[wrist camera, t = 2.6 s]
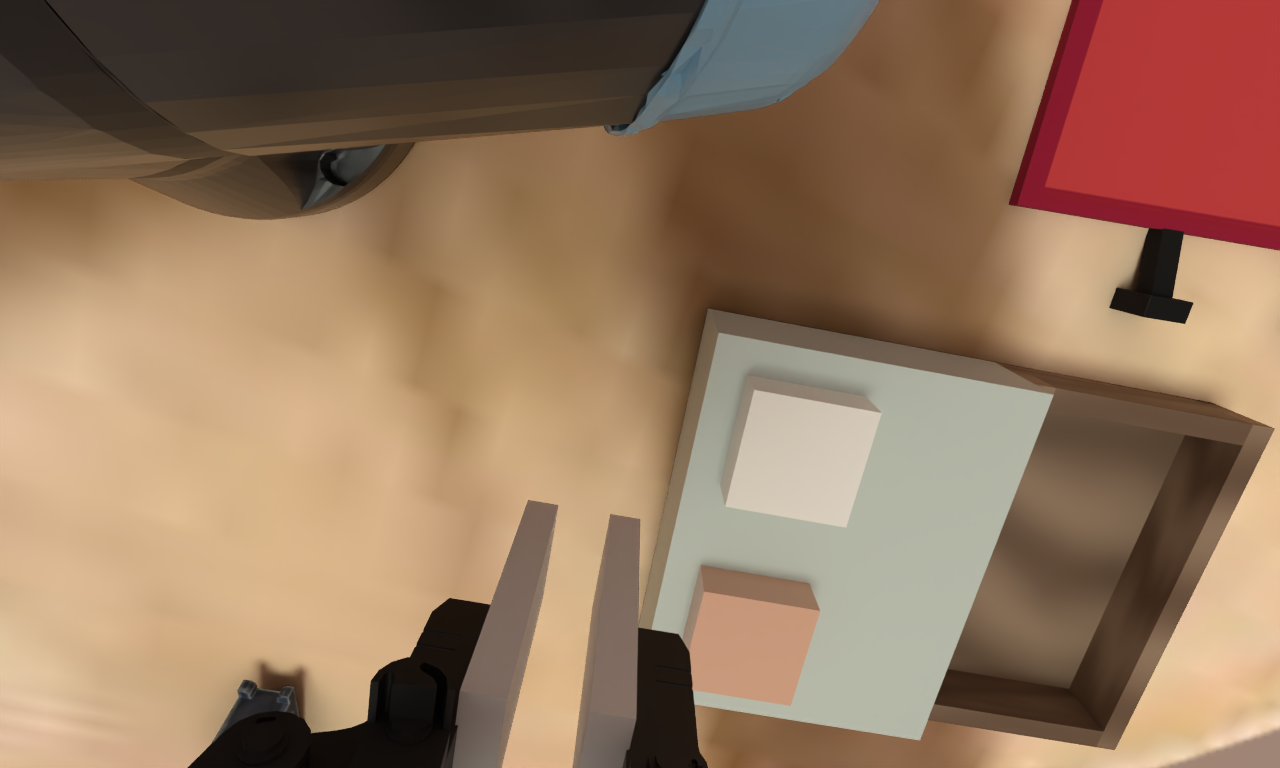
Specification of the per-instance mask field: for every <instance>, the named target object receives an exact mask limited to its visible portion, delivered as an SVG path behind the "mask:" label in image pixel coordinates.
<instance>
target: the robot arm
mask: <svg viewBox="0 0 1280 768" xmlns="http://www.w3.org/2000/svg"><path fill="white" fill-rule="evenodd" d="M878 2H879V0H0V181H2V180H68V179H130V180H132V181H135V182H137V183H139V184H141V185H144V186H146V187H148V188H150V189H153V190H155V191H157V192H160V193H162V194H164V195H166V196H169V197H171V198H173V199H176V200H178V201H180V202H182V203H185V204H187V205H190V206H192V207H195V208H198V209H201V210H204V211H208V212H211V213H215V214H220V215H224V216H230V217H237V218H243V219H256V220H273V219H285V218H293V217H300V216H307V215H314V214H319V213H323V212H327V211H330V210H333V209H336V208H339V207H341V206H344V205H346V204H348V203H351V202H352V201H354V200H356V199H358V198H360V197H362V196H363V195H365V194H366V193H368V192H369V191H371V190H372V189H374V188H375V187H376V186H377V185H379V184H380V183H381V182H382V181H383V180H384V179H386V178H387V177H388V176H389V175H390V174H391V173H392V172H393V171H394V169H395V168H396V167H397V166H398V165H399V164H400V163H401V161H402V160H403V159H404V157H405V156H406V155H407V153H408V152H409V150H410V149H411V147H412V146H413V144H414V142H420V141H432V140H443V139H455V138H467V137H478V136H490V135H502V134H514V133H525V132H537V131H549V130H560V129H572V128H584V127H595V126H604V128H605V130H606V131H607V132H608V133H609V134H611V135H614V136H631V135H634V134H636V133H637V132H640V131H643V130H646V129H649V128H651V127H652V126H654V125H656V124H657V123H658V122H661V121H669V120H677V119H685V118H692V117H700V116H708V115H716V114H723V113H731V112H739V111H747V110H753V109H758V108H763V107H766V106H769V105H771V104H774V103H777V102H780V101H782V100H783V99H785V98H787V97H788V96H790V95H791V94H792V93H794V92H795V91H796V90H797V89H799V88H802V87H804V86H806V84H807V83H808V82H809V81H810V80H812V79H814V78H815V77H817V76H819V75H821V74H823V73H824V72H825V71H826V70H827V69H828V68H829V67H830V66H831V65H832V64H833V63H834V62H835V61H836V60H837V59H838V58H839V57H840V56H841V55H842V53H843V52H844V51H845V50H846V48H847V47H848V46H849V44H850V43H851V42H852V40H853V39H854V38H855V37H856V35H857V34H858V33H859V31H860V30H861V29H862V27H863V26H864V25H865V23H866V21H867V20H868V18H869V17H870V15H871V14H872V12H873V11H874V9H875V7H876V6H877V4H878ZM557 510H558V505H554V504H548V503H542V502H537V501H531V500H528V502H527V505H526V508H525V511H524V514H523V516H522V519H521V522H520V525H519V527H518V530H517V533H516V536H515V539H514V541H513V544H512V547H511V550H510V552H509V555H508V558H507V561H506V564H505V566H504V569H503V572H502V575H501V578H500V580H499V583H498V586H497V589H496V591H495V594H494V597H493V600H492V603H491V605H489V604H483V603H477V602H470V601H464V600H458V599H452V598H449V599H448V600H446V601H445V602H444V603H443V604H441V605H440V606H439V607H438V608H436V609H435V610H434V611H432V613H431V615H430V617H429V619H428V621H427V624H426V626H425V628H424V631H423V633H422V634H421V636H420V638H419V640H418V642H417V645H416V647H415V648H414V650H413V652H412V654H411V656H410V657H407V658H404V659H400V660H397V661H394V662H391V663H389V664H388V665H386V666H385V667H383V668H382V669H380V670H379V671H378V672H377V674H376V675H375V676H374V678H373V679H372V680H371V685H370V697H369V709H368V721H366V722H364V723H362V724H359V725H357V726H354V727H352V728H347V729H342V730H337V731H328V732H319V733H311V730H310V728H309V727H308V725H307V723H306V722H305V720H304V719H302V718H300V717H298V716H297V715H295V714H293V713H289V712H281V711H270V712H263V713H257V714H254V715H252V716H249V717H247V718H244V719H242V720H239V721H238V722H237V723H235V724H234V725H232V726H231V727H230V728H228V729H227V730H226V731H224V732H223V733H222V734H221V735H220V736H219V737H218V738H217V739H216V740H215V741H214V742H213V743H212V744H211V745H210V746H209V747H208V748H207V749H206V750H205V751H204V752H203V753H202V754H201V755H200V756H199V757H198V758H197V759H196V760H195V761H194V762H193V763H192V764H191V765H190V766H189V767H188V768H501V767H502V763H503V759H504V755H505V751H506V747H507V743H508V739H509V734H510V730H511V726H512V722H513V718H514V714H515V710H516V706H517V702H518V697H519V693H520V689H521V685H522V681H523V677H524V673H525V669H526V665H527V660H528V656H529V652H530V648H531V644H532V640H533V636H534V632H535V628H536V623H537V619H538V615H539V611H540V607H541V603H542V599H543V593H544V587H545V582H546V576H547V570H548V564H549V558H550V552H551V546H552V540H553V534H554V528H555V522H556V516H557ZM639 550H640V519H636V518H630V517H624V516H618V515H612V514H610V519H609V524H608V529H607V535H606V540H605V545H604V550H603V555H602V560H601V565H600V571H599V576H598V581H597V586H596V591H595V596H594V602H593V607H592V615H591V624H590V632H589V640H588V648H587V656H586V664H585V672H584V680H583V688H582V696H581V704H580V712H579V720H578V728H577V737H576V745H575V753H574V761H573V768H708V766H707V762H706V761H705V759H704V758H703V757H702V755H701V754H700V752H699V748H698V739H697V728H696V717H695V706H694V694H693V690H692V687H693V683H692V674H691V661H690V652H689V650H688V648H687V647H686V645H685V643H684V642H683V640H682V639H681V637H680V635H679V634H675V633H669V632H663V631H657V630H651V629H645V628H639V627H638V603H639Z"/></svg>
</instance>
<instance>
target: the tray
mask: <svg viewBox="0 0 1280 768" xmlns="http://www.w3.org/2000/svg"><path fill="white" fill-rule="evenodd" d="M995 363H997V362H995ZM997 364H999V365H1001V366H1002V367H1004V368H1006V369H1008V370H1010V371H1011V372H1013V373H1015V374H1017V375H1019V376H1021V377H1022V378H1024V379H1026V380H1028V381H1030V382H1031V383H1033V384H1035V385H1037V386H1039V387H1041V388H1042V389H1044V390H1046V391H1048V392H1050V393H1051V394H1053V395H1054V396H1053V398H1052V401H1051V403H1050V406H1049V409H1048V411H1047V414H1046V416H1045V419H1044V421H1043V424H1042V427H1041V429H1040V432H1039V434H1038V437H1037V439H1036V442H1035V445H1034V447H1033V450H1032V452H1031V455H1030V458H1029V460H1028V463H1027V465H1026V468H1025V470H1024V473H1023V476H1022V478H1021V481H1020V483H1019V486H1018V488H1017V491H1016V494H1015V496H1014V499H1013V501H1012V504H1011V506H1010V509H1009V512H1008V514H1007V517H1006V519H1005V522H1004V525H1003V527H1002V530H1001V532H1000V535H999V537H998V540H997V543H996V545H995V548H994V550H993V553H992V555H991V558H990V561H989V563H988V566H987V568H986V571H985V573H984V576H983V579H982V581H981V584H980V586H979V589H978V592H977V594H976V597H975V599H974V602H973V604H972V607H971V610H970V612H969V615H968V617H967V620H966V622H965V625H964V628H963V630H962V633H961V635H960V638H959V640H958V643H957V646H956V648H955V651H954V653H953V656H952V659H951V661H950V664H949V666H948V669H947V671H946V674H945V677H944V679H943V682H942V684H941V687H940V689H939V692H938V695H937V697H936V700H935V702H934V705H933V708H932V710H931V713H930V715H929V718H928V720H931V721H938V722H944V723H950V724H956V725H962V726H969V727H975V728H981V729H987V730H993V731H1000V732H1006V733H1012V734H1018V735H1024V736H1031V737H1037V738H1043V739H1049V740H1056V741H1062V742H1068V743H1074V744H1080V745H1087V746H1093V747H1099V748H1105V749H1111V750H1115V749H1116V747H1117V745H1118V743H1119V741H1120V739H1121V737H1122V734H1123V732H1124V730H1125V728H1126V726H1127V724H1128V722H1129V720H1130V718H1131V716H1132V714H1133V712H1134V710H1135V708H1136V706H1137V704H1138V702H1139V700H1140V698H1141V696H1142V694H1143V692H1144V690H1145V688H1146V686H1147V684H1148V682H1149V680H1150V678H1151V676H1152V674H1153V672H1154V670H1155V668H1156V666H1157V664H1158V662H1159V660H1160V658H1161V656H1162V654H1163V652H1164V650H1165V648H1166V646H1167V644H1168V642H1169V640H1170V638H1171V636H1172V634H1173V632H1174V630H1175V628H1176V626H1177V624H1178V622H1179V620H1180V618H1181V616H1182V614H1183V612H1184V610H1185V608H1186V606H1187V604H1188V602H1189V600H1190V598H1191V596H1192V594H1193V592H1194V590H1195V588H1196V586H1197V584H1198V582H1199V580H1200V578H1201V576H1202V574H1203V572H1204V570H1205V568H1206V566H1207V564H1208V562H1209V560H1210V558H1211V556H1212V554H1213V552H1214V550H1215V548H1216V546H1217V544H1218V542H1219V540H1220V538H1221V536H1222V534H1223V532H1224V530H1225V528H1226V526H1227V524H1228V522H1229V520H1230V518H1231V516H1232V514H1233V512H1234V510H1235V508H1236V506H1237V504H1238V502H1239V500H1240V498H1241V495H1242V493H1243V491H1244V489H1245V487H1246V485H1247V483H1248V481H1249V479H1250V477H1251V475H1252V473H1253V471H1254V469H1255V467H1256V465H1257V463H1258V461H1259V459H1260V457H1261V455H1262V453H1263V451H1264V449H1265V447H1266V445H1267V443H1268V441H1269V439H1270V437H1271V435H1272V433H1273V431H1274V428H1272V427H1269V426H1267V425H1265V424H1262V423H1260V422H1257V421H1255V420H1252V419H1250V418H1247V417H1245V416H1243V415H1240V414H1238V413H1235V412H1233V411H1230V410H1228V409H1226V408H1223V407H1221V406H1218V405H1216V404H1213V403H1210V402H1205V401H1200V400H1194V399H1189V398H1184V397H1178V396H1173V395H1168V394H1162V393H1157V392H1152V391H1146V390H1141V389H1136V388H1130V387H1125V386H1119V385H1114V384H1109V383H1103V382H1098V381H1093V380H1087V379H1082V378H1077V377H1071V376H1066V375H1061V374H1055V373H1050V372H1045V371H1039V370H1034V369H1029V368H1023V367H1018V366H1013V365H1007V364H1002V363H997Z"/></svg>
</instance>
